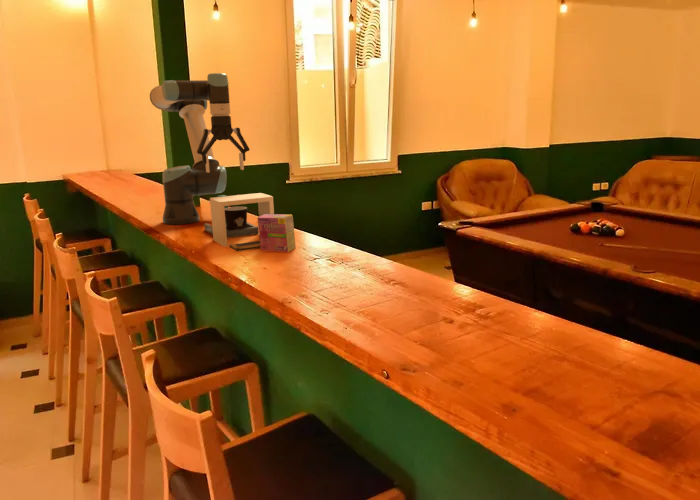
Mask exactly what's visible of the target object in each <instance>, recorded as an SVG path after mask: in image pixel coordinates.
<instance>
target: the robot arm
mask: <svg viewBox="0 0 700 500" xmlns="http://www.w3.org/2000/svg"><path fill="white" fill-rule="evenodd" d="M229 87H230V86H229V78H228V75H227V74H226V73H223V72H220V73H219V72H217V73H216V72H215V73H208V74H207V80H206V79H205V80H198V79H197V80H196V79H195V80H174V79H171V80H163V81H162V84H161V85H157V86H155V87H153V88H152V89H151V90H150V93H149V101H150V102H151V104H152V106H154V107H155V108H156V109H159V110H161V111H164V112H178V115H179V117H180V118H181V119H183V120H184V125H185V129H186V132H187V138H188V140H189V145H190V149H191V153H192V156H193V157H192V158H193V160H194V164H193V165H192V167H191V166H190V165H177V166H174V167H168V168H166V169H164V170H163V171H162V184H163V185H162V186H163V193H164V195H163V196H164V202H165V205H164V210H163V214H162V223H163V224H164V223H165V225H185V224H192V223H197V222H199V221H200V215H199V212H198V210H197V207H196V204H195V202H194V197H195V196H206V195H216V194H221V193H223V192H225V190H226V187H227V181H228V180H227V169H226V167H225V166H224V165H220V162H219V160H217V159H216V158H215V156H214V152H213V149H212V147H213V145H214V144H215V142H216V141H228V140H229V141H230V142H231V143H232V145H234V147H236V149H237V150H238V151H240V152H239V153H238V158H239V169H240V170H241V171H244V170H245V166H244V162H246V153H247V152H249V151H250V148H249V146H248V144H247V142H246V140H245V138H244V137H243V135H242V133H241V128H240V127H234V128H233V126H232V117H231V105H230V102H231V101H230V88H229ZM208 101H209V113H210V114H209V115H211V117H210V121H211V129H208V128H207V126H206V122H205V119H204V115H205V113H206V111H207V108H208ZM233 133H234V134H236V137H237V138H238V141H239V142H240V143H241V145H242V146H241V145H240V143H239V142H238V141H237V140H236V139H235V138H234V137H233V136H232V134H233ZM210 134H211V135H212V137H211V138H210V137H209V135H210Z"/></svg>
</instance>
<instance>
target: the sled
mask: <svg viewBox="0 0 700 500" xmlns="http://www.w3.org/2000/svg"><path fill="white" fill-rule="evenodd" d="M224 196H227V195H225V194H220V195H216V197H224ZM228 207H229V206H224V209H225V208H228ZM225 222H226V219H225ZM226 227H227V222H226ZM204 231H206V232H208V233H209V234H210V235H212V236H213V228H212V224H210V223H207V222H206V223H204ZM226 234H227V239H230V238H235V237H242V236H243V237H244V236H249V235H257V234H259V227H258V226H257V225H255V224H252V223H250V222H249V221H247V225H246V228H243V229H235V230H228V229H227V228H226Z"/></svg>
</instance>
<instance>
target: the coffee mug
mask: <svg viewBox="0 0 700 500" xmlns="http://www.w3.org/2000/svg"><path fill="white" fill-rule="evenodd" d="M224 210H225V219H226V222H227V227H226V228H227V229H228V230H235V229H243V228H246V225H247V222H248V220H247V219H248V207H247V206H230V207H229V206H228V208H225V209H224Z"/></svg>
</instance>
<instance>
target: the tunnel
mask: <svg viewBox="0 0 700 500" xmlns="http://www.w3.org/2000/svg"><path fill="white" fill-rule="evenodd" d="M247 204H257V207H258V217H260V216H262V215H264V214H275V207H274V206H275V204H274V196H272V195H270V194H266V193H262V192H258V193H255V192H254V193H247V194H246V193H245V194H236V195H234V194H233V195H226V196H224V197H217V196H216V197H215V196H214V197H209V205H210V215H211V226H212V228H213V235H212V237H213V238H212V239H213V241H214V242H215V243H217V244H218V245H220V246H222V247H228V238H227V234H226V222H225V210H224V206H228V207H229V206H230V207H231V206H237V205H247Z"/></svg>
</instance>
